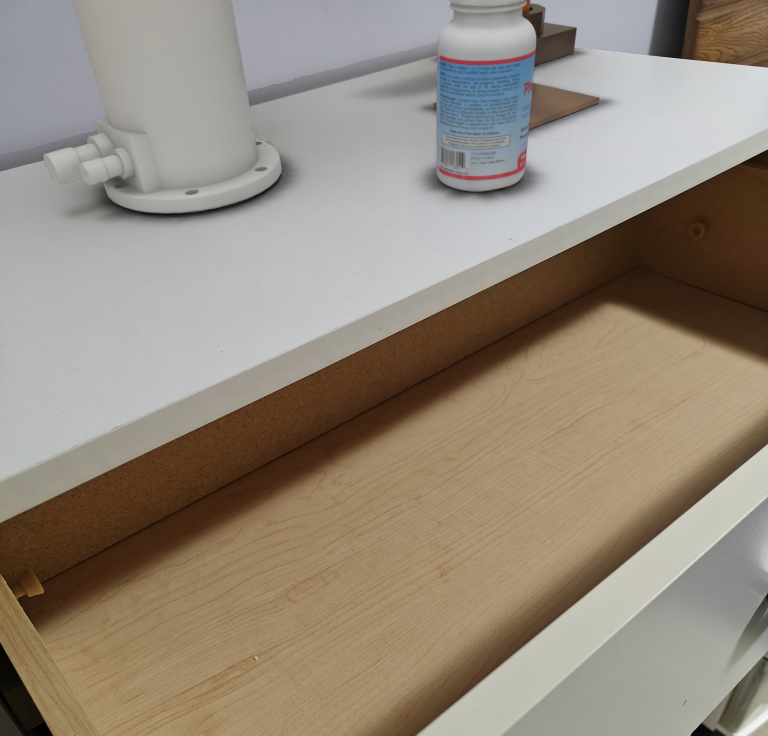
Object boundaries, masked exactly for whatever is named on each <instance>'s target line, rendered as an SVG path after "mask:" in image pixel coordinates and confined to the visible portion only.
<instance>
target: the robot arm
mask: <svg viewBox="0 0 768 736" xmlns="http://www.w3.org/2000/svg"><path fill="white" fill-rule="evenodd" d="M71 4H72V7H73V11H74V13H75V17H76V21H77V23H78V27H79V30H80V33H81V36H82V39H83V43H84V46H85V50H86V53H87V56H88V59H89V63H90V66H91V70H92V73H93V76H94V79H95V81H96V82H95V83H96V85H97V88H98V93H99V95H100V98H101V101H102V105H103V108H104V112H105V116H106V117H102V118H101V117H100V118H98V119H94V120H93V124H94V127H95V131H96V133H97V134H93V135H89V136H88V137H87V138H86V144H83V145H79V146H75V147H72V146H68V147H64V148H61V149H57V150H53V151H50V152H47V153H44V154H43V157H42V159H43V162H44V165H45V168H46V170H47V172H48V174H49V177H50V179H52V181H53V183H54V184H55V185H56V186H58V187H59V186H63V185H65V184H68V183H73V182H75V181H79V180H82V179H83V180H84V182H85V184H86V185H87V186H88V187H90V186H93V185H97V184H101V183H102V184H103V187H104V189H105V192H106V195H107V197H108V198H109V200H111V202H113V203H115V204H117V205H119V206H120V207H122V208H125V209H129V210H131V211H134V212H135V211H136V212H142V213H148V214H186V213H195V212H203V211H208V210H209V211H210V210H214V209H218V208H223V207H226V206H229V205H230V206H231V205H235V204H237V203H240V202H243V201H245V200H248V199H250V198H253V197H255V196H257V195H259V194H261V193H263V192H264V191H266V190H267V189H269V188H270V187H272V186H273V185H274V184H275V183H276V182H277V181H278V179H279V178H280V175H281V174H282V160H281V157H280V152H279V151H278V149H277V148H276V147H274V146H273V145H271V144H270V143H269V142H266V141H264V140H261V139H259V138H256V136H255V130H254V123H253V118H252V112H251V106H250V101H249V95H248V89H247V82H246V77H245V71H244V65H243V60H242V54H241V52H242V51H241V47H240V42H239V36H238V31H237V23H236V18H235V17H236V16H235V13H234V12H235V11H234V6H233V0H71Z"/></svg>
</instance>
